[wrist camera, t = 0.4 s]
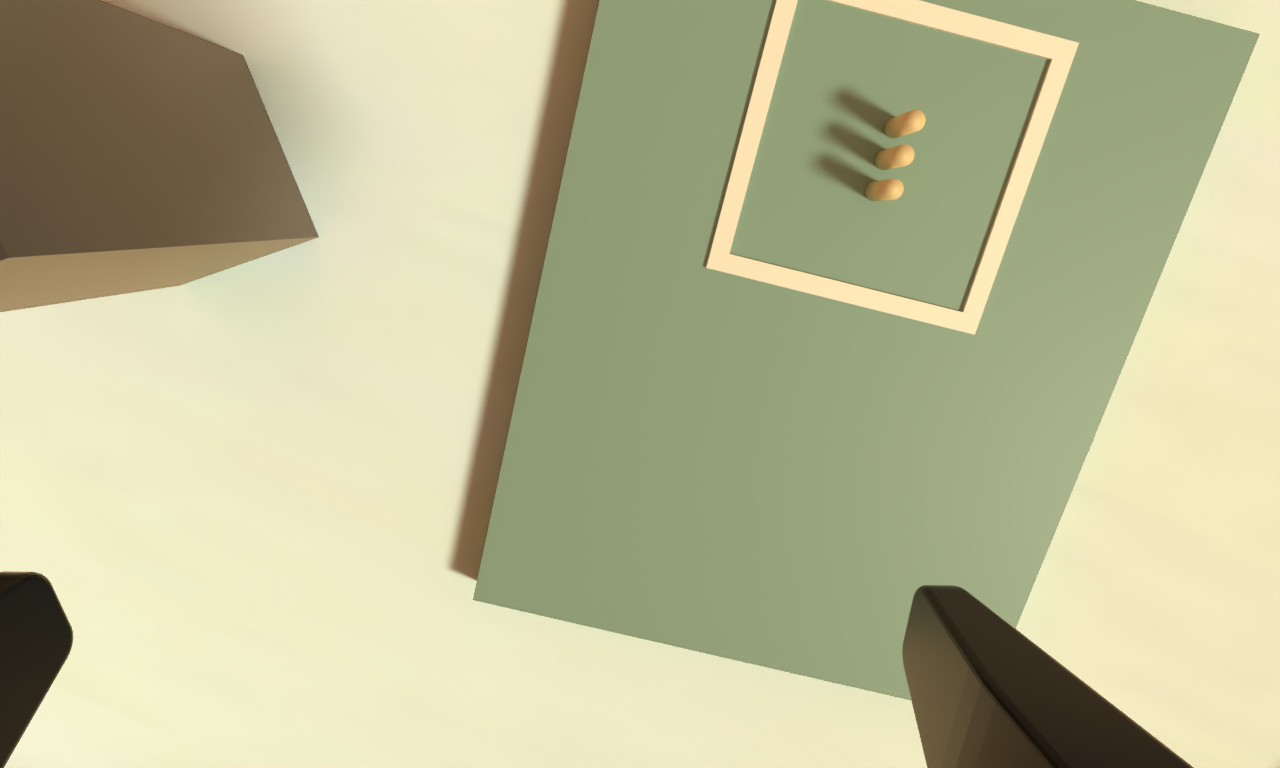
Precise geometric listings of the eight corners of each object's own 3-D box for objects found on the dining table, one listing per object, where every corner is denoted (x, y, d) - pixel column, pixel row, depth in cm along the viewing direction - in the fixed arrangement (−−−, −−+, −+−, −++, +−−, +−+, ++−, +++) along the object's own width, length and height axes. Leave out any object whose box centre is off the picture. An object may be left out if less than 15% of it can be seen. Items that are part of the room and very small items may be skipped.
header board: (966, 695, 23) (1002, 751, 21) (480, 583, 23) (459, 627, 20) (1228, 43, 19) (1313, 17, 16) (629, -118, 18) (625, -170, 16)
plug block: (319, 237, 20) (8, 257, 11) (179, 285, 21) (-245, 348, 11) (242, 55, 19) (-180, -109, 9) (97, 110, 20) (-453, 6, 10)
